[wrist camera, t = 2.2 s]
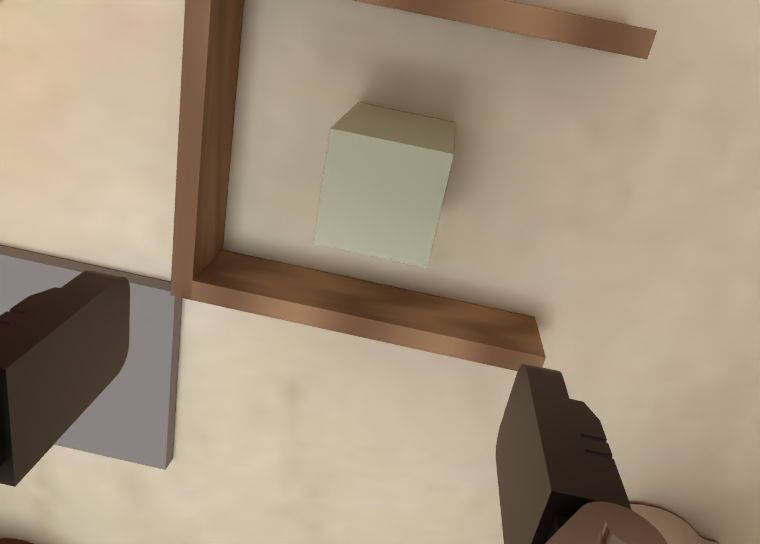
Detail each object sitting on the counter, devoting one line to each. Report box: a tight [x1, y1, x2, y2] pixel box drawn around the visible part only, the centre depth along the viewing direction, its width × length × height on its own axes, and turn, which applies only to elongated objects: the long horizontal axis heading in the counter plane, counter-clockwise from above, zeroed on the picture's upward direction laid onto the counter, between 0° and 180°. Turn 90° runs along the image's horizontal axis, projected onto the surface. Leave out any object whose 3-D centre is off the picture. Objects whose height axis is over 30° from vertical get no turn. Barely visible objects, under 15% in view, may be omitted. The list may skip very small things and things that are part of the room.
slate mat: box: [0, 245, 182, 470], centre depth 35 cm, size 12×12×1 cm
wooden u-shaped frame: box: [170, 0, 657, 371], centre depth 27 cm, size 18×15×4 cm
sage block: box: [313, 103, 454, 268], centre depth 26 cm, size 4×4×7 cm
